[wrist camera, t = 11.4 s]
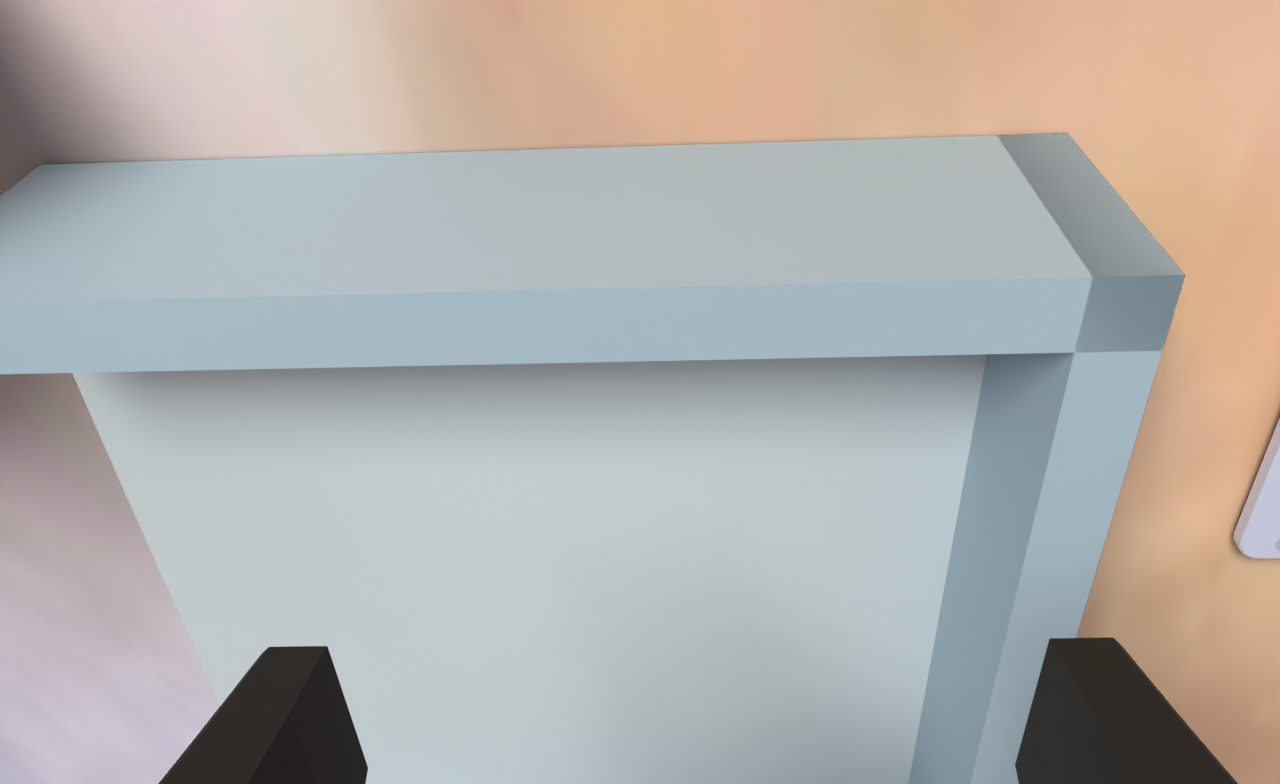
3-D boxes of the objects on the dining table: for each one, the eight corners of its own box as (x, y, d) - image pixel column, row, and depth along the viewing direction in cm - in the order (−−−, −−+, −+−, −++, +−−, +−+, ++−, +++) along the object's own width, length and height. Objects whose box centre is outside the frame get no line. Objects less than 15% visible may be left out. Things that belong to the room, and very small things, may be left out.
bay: (1068, 133, 18) (1185, 274, 14) (931, 794, 29) (972, 980, 25) (40, 164, 18) (-139, 306, 14) (296, 794, 30) (235, 974, 26)
